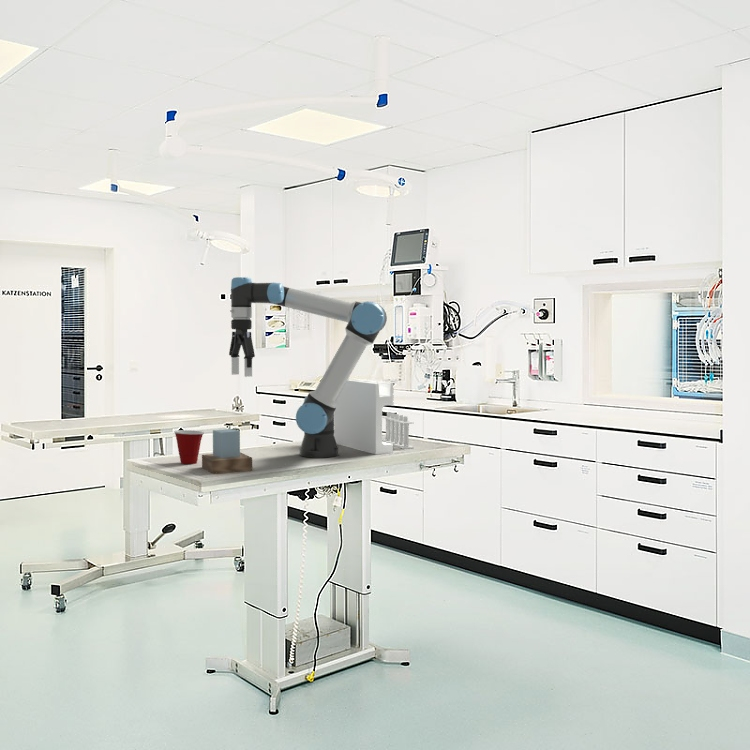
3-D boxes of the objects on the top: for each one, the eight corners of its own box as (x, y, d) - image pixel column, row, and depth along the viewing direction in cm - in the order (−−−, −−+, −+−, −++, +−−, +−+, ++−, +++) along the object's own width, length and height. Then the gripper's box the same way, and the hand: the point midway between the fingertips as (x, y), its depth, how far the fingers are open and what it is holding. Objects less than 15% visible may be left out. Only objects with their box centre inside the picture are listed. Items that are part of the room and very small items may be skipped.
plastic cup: (210, 463, 295) (209, 430, 294) (183, 466, 288) (182, 433, 287) (195, 459, 303) (195, 427, 303) (169, 462, 296) (168, 430, 296)
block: (334, 443, 348) (334, 378, 346) (350, 441, 352) (350, 378, 350) (375, 454, 318) (376, 383, 316) (393, 453, 322) (393, 383, 320)
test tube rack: (380, 441, 355) (380, 411, 354) (390, 440, 357) (390, 411, 356) (404, 449, 332) (404, 417, 331) (413, 448, 333) (414, 417, 333)
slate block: (230, 453, 289) (230, 428, 289) (239, 456, 283) (239, 431, 283) (212, 455, 285) (212, 430, 284) (221, 458, 279) (221, 432, 279)
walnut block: (239, 465, 294) (239, 452, 293) (252, 472, 281) (252, 457, 281) (202, 468, 287) (201, 454, 287) (213, 475, 275) (212, 460, 274)
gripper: (220, 318, 311) (220, 373, 312) (244, 318, 289) (244, 377, 290) (238, 319, 314) (239, 373, 316) (263, 318, 293) (263, 377, 294)
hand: (241, 375), depth 303 cm, fingers open, 13 cm apart
